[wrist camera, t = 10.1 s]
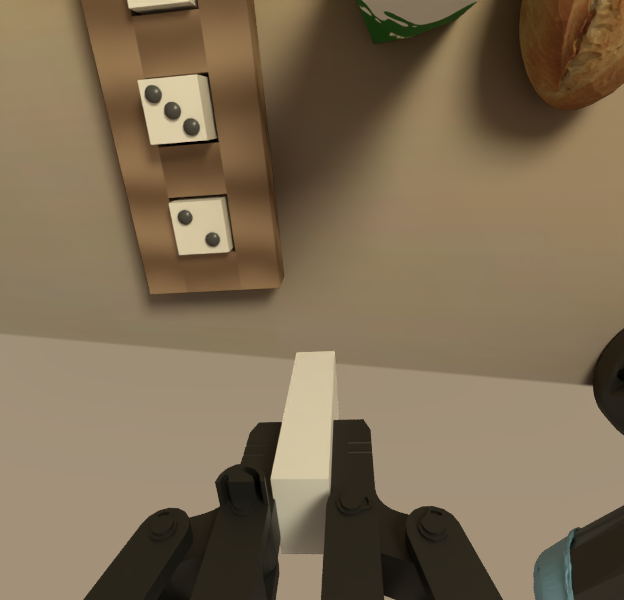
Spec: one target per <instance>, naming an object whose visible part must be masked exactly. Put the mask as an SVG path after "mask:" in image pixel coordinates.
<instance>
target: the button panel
mask: <svg viewBox="0 0 624 600" xmlns="http://www.w3.org/2000/svg"><path fill="white" fill-rule="evenodd" d="M81 3H82V7H83V11H84V15H85V20H86V24H87V28H88V32H89V37H90V41H91V45H92V49H93V53H94V58H95V62H96V66H97V70H98V75H99V79H100V83H101V87H102V91H103V96H104V100H105V104H106V108H107V113H108V117H109V121H110V125H111V129H112V134H113V138H114V142H115V146H116V151H117V155H118V159H119V163H120V167H121V172H122V176H123V180H124V184H125V189H126V193H127V197H128V201H129V205H130V210H131V214H132V218H133V222H134V227H135V231H136V235H137V239H138V243H139V248H140V252H141V256H142V260H143V265H144V269H145V273H146V277H147V281H148V286H149V290H150V294H164V293H184V292H204V291H224V290H244V289H264V288H280V286H281V283H282V281H283V278H284V270H283V261H282V252H281V243H280V234H279V225H278V216H277V207H276V198H275V189H274V180H273V171H272V162H271V153H270V144H269V135H268V126H267V116H266V107H265V98H264V89H263V80H262V71H261V62H260V53H259V44H258V35H257V26H256V17H255V8H254V0H198V7H199V9H194V10H185V11H176V12H167V13H158V14H150V15H142V14H140V13H137V12H135V11H133V10H131V9H129V7H128V2H127V0H81ZM196 74H197V75H201V76H209V79H210V86H211V93H212V99H213V106H214V112H215V119H216V126H217V132H218V139H219V141H215V142H203V143H191V144H179V145H172V144H171V143H167V144H156V145H151V143H150V138H149V134H148V129H147V124H146V119H145V114H144V109H143V105H142V100H141V95H140V90H139V85H138V81H137V80H145V79H155V78H165V77H175V76H185V75H196ZM217 194H227V198H228V205H229V211H230V218H231V225H232V231H233V238H234V244H235V246H234V247H233V248H232V249H231V251H230V252H223V253H206V254H189V255H179V252H178V248H177V243H176V238H175V233H174V228H173V223H172V218H171V213H170V208H169V203H170V202H172V201H174V200H176V199H178V198H180V197H189V196H203V195H217Z"/></svg>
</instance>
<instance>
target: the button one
mask: <svg viewBox="0 0 624 600" xmlns="http://www.w3.org/2000/svg"><path fill="white" fill-rule="evenodd" d="M127 2H128V7H129V9H131V10H133V11H135V12H137V13H140V14H142V15H150V14H158V13H167V12H176V11H185V10H194V9H199V7H198V0H127Z"/></svg>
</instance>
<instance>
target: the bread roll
mask: <svg viewBox="0 0 624 600" xmlns="http://www.w3.org/2000/svg"><path fill="white" fill-rule="evenodd" d="M519 37H520V46H521V52H522V57H523V61H524V64H525V69H526V72H527V75H528V78H529V80H530V82H531V83H532V85H533V87H534V89H535V91H536V92H537V93H538V95H539V96H540V97H541V98H542V99H543V100H544V101H545V102H546V103H547V104H549V105H551V106H553V107H555V108H558V109H561V110H575V109H579V108H583V107H586V106H588V105H591V104H593V103H595V102H597V101H599V100H600V99H602V98H604V97H606V96H608V95H609V94H611V93H613V92H614V91H615V90H616V89H617V88H619V87H620V86H621V85H622V84H623V83H624V0H522V5H521V12H520V23H519Z"/></svg>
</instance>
